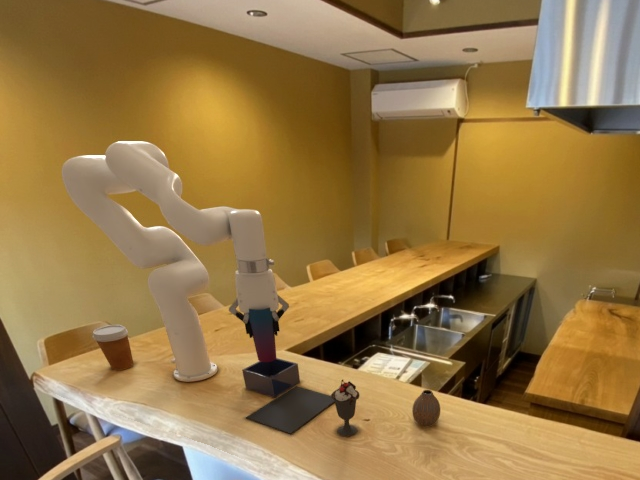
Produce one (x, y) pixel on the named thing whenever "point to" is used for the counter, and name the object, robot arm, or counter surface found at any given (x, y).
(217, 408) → the counter surface
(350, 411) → the sundae
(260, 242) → the robot arm
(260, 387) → the holder
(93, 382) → the counter surface
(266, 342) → the cup
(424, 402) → the vase
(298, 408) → the mat
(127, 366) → the disposable coffee cup
